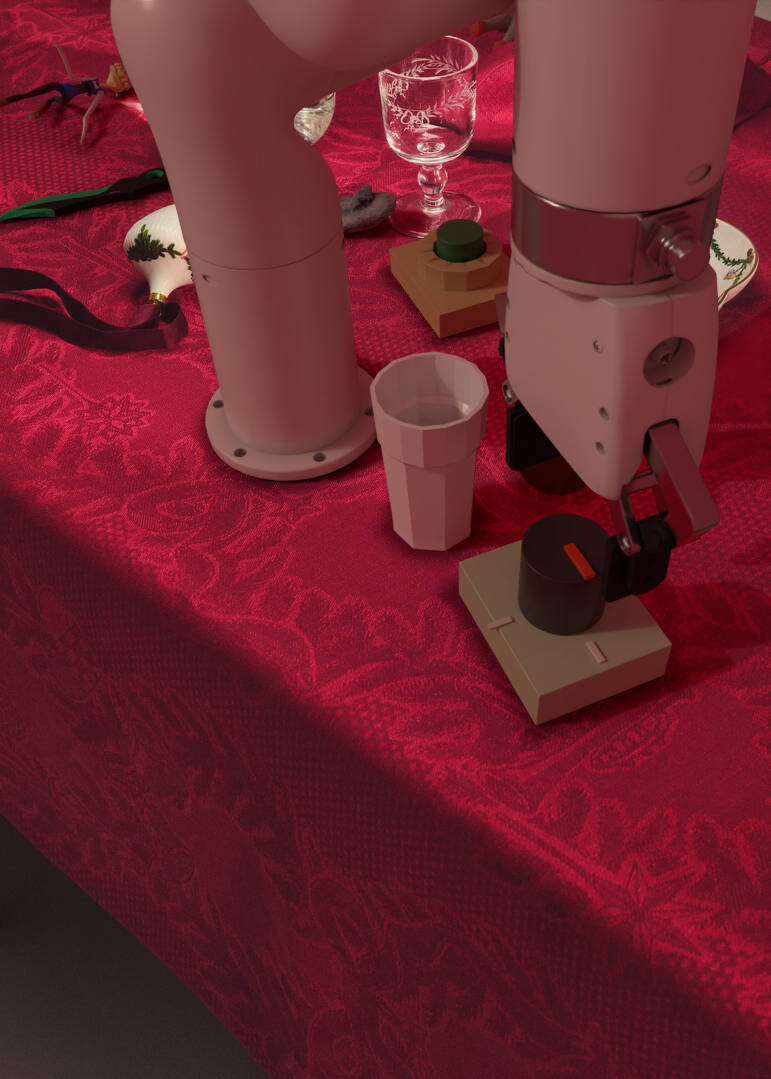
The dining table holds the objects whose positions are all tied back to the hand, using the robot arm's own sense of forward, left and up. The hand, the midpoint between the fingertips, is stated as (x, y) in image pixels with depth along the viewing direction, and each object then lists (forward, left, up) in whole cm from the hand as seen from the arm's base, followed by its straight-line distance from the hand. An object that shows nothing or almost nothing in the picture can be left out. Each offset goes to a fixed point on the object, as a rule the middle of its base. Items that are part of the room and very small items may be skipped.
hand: (580, 520), depth 50 cm
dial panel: (-1, 0, -10) cm, 10 cm away
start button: (-34, +9, -7) cm, 35 cm away
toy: (-71, +29, -9) cm, 77 cm away
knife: (-65, -13, -10) cm, 67 cm away
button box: (-34, +9, -10) cm, 36 cm away
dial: (-1, 0, -7) cm, 7 cm away
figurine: (-84, -5, -7) cm, 84 cm away
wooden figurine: (-12, +6, -10) cm, 17 cm away
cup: (-12, -3, -10) cm, 16 cm away
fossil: (-44, +3, -9) cm, 45 cm away
